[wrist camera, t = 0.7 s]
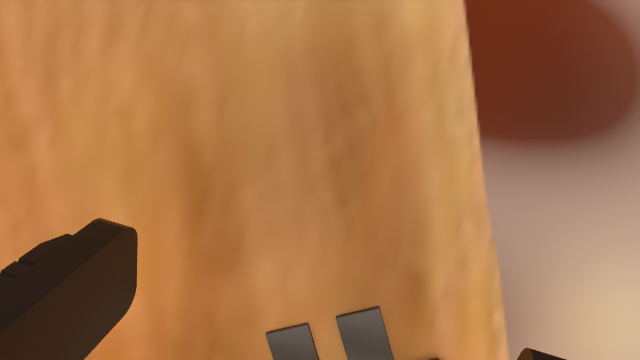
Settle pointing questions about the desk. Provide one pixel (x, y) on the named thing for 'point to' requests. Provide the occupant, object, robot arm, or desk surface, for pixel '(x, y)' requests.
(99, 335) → the robot arm
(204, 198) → the desk surface
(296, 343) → the trap lane
